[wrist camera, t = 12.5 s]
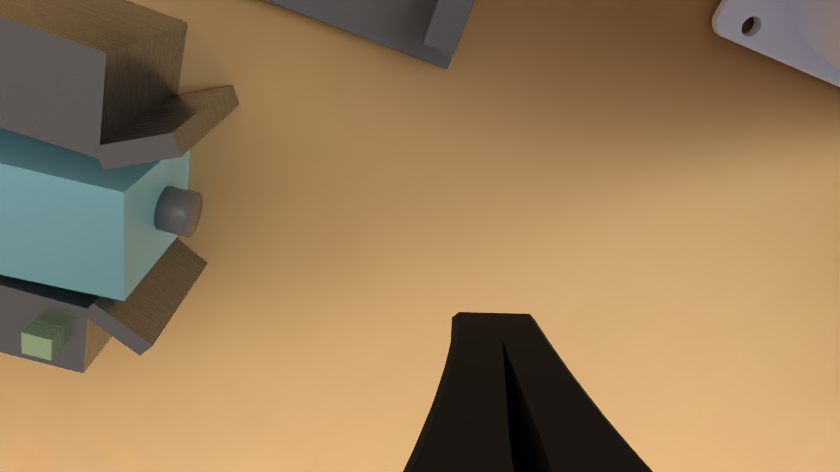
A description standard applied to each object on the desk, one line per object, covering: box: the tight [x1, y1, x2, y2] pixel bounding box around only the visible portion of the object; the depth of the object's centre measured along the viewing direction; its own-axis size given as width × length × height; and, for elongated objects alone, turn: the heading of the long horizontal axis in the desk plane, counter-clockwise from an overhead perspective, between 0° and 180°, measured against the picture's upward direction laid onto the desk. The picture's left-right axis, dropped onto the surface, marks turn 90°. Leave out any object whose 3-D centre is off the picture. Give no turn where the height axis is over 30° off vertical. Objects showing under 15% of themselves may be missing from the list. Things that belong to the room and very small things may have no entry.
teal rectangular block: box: [0, 127, 202, 301], centre depth 16 cm, size 7×4×4 cm, turn 75°
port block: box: [0, 0, 239, 373], centre depth 15 cm, size 9×10×5 cm
